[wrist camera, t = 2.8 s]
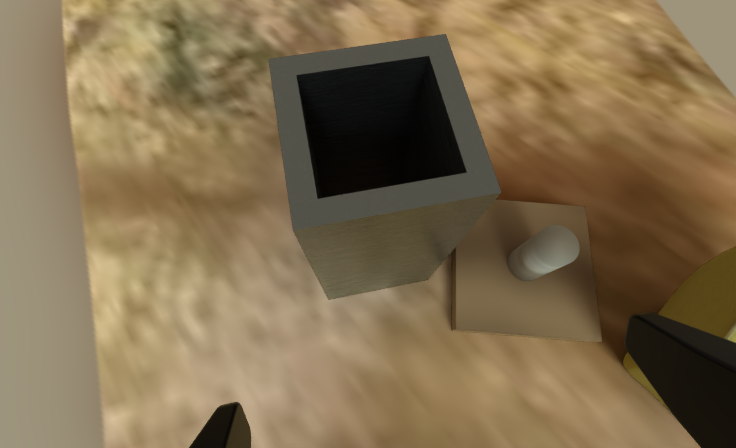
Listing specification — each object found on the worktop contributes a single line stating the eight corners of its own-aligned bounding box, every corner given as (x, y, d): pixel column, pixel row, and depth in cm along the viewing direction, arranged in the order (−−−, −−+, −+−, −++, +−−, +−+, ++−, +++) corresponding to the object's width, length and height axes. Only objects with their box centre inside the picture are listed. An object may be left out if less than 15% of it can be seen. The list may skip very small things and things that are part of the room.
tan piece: (591, 342, 22) (656, 337, 17) (451, 330, 22) (477, 322, 17) (576, 212, 24) (628, 176, 20) (452, 202, 24) (474, 164, 20)
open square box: (427, 279, 23) (501, 192, 11) (328, 299, 22) (293, 230, 10) (404, 190, 25) (445, 34, 13) (313, 206, 24) (268, 58, 12)
